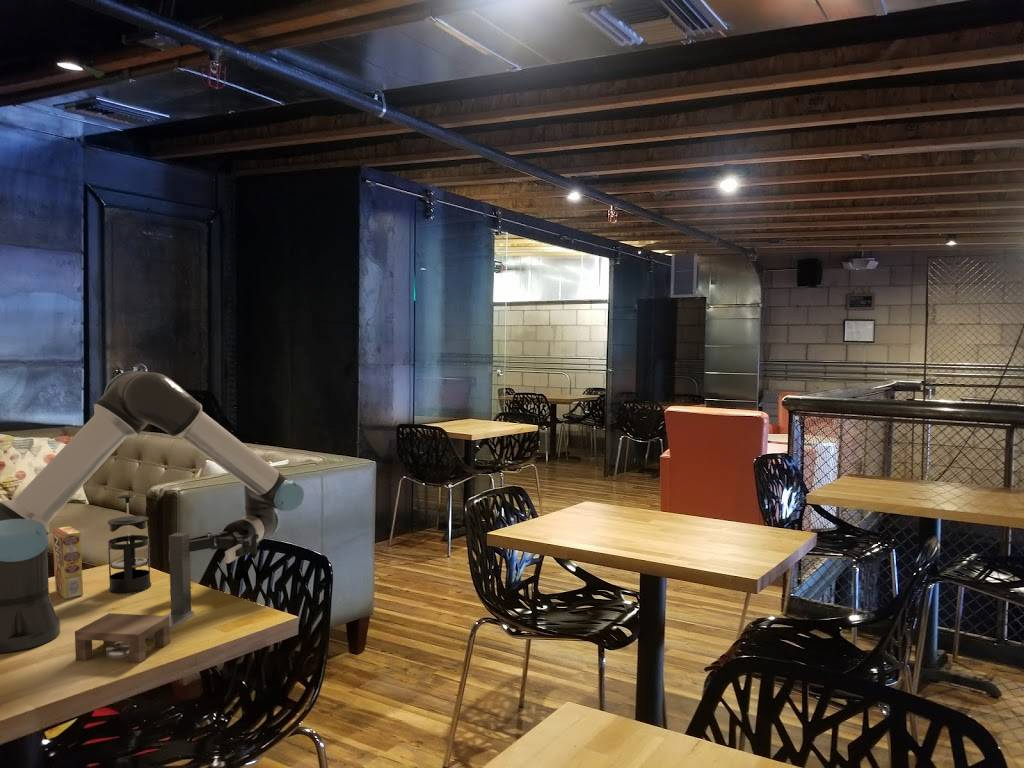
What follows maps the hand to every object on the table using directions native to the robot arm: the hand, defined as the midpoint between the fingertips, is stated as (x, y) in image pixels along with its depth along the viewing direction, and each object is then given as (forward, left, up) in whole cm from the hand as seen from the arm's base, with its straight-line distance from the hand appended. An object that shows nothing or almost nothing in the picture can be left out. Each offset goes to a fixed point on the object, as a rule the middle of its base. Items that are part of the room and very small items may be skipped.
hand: (198, 556), depth 178 cm
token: (-1, -28, -12) cm, 30 cm away
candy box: (-36, +4, -12) cm, 38 cm away
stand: (-1, -27, -11) cm, 29 cm away
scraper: (-1, -12, -11) cm, 17 cm away
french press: (-24, +10, -12) cm, 29 cm away
